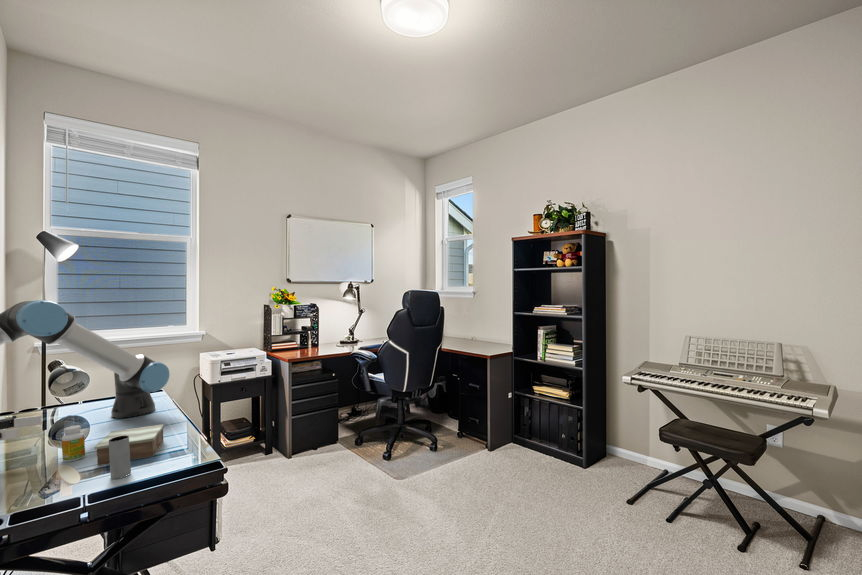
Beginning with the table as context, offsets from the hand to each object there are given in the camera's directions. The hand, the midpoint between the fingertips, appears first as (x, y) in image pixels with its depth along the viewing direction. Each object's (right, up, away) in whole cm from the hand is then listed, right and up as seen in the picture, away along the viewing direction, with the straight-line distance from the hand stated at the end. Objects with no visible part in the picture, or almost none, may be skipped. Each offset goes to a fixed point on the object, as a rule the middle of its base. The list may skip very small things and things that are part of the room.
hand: (30, 426), depth 129 cm
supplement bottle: (+10, -11, +4) cm, 16 cm away
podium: (+26, -10, +7) cm, 29 cm away
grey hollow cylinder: (+34, -10, -10) cm, 37 cm away
